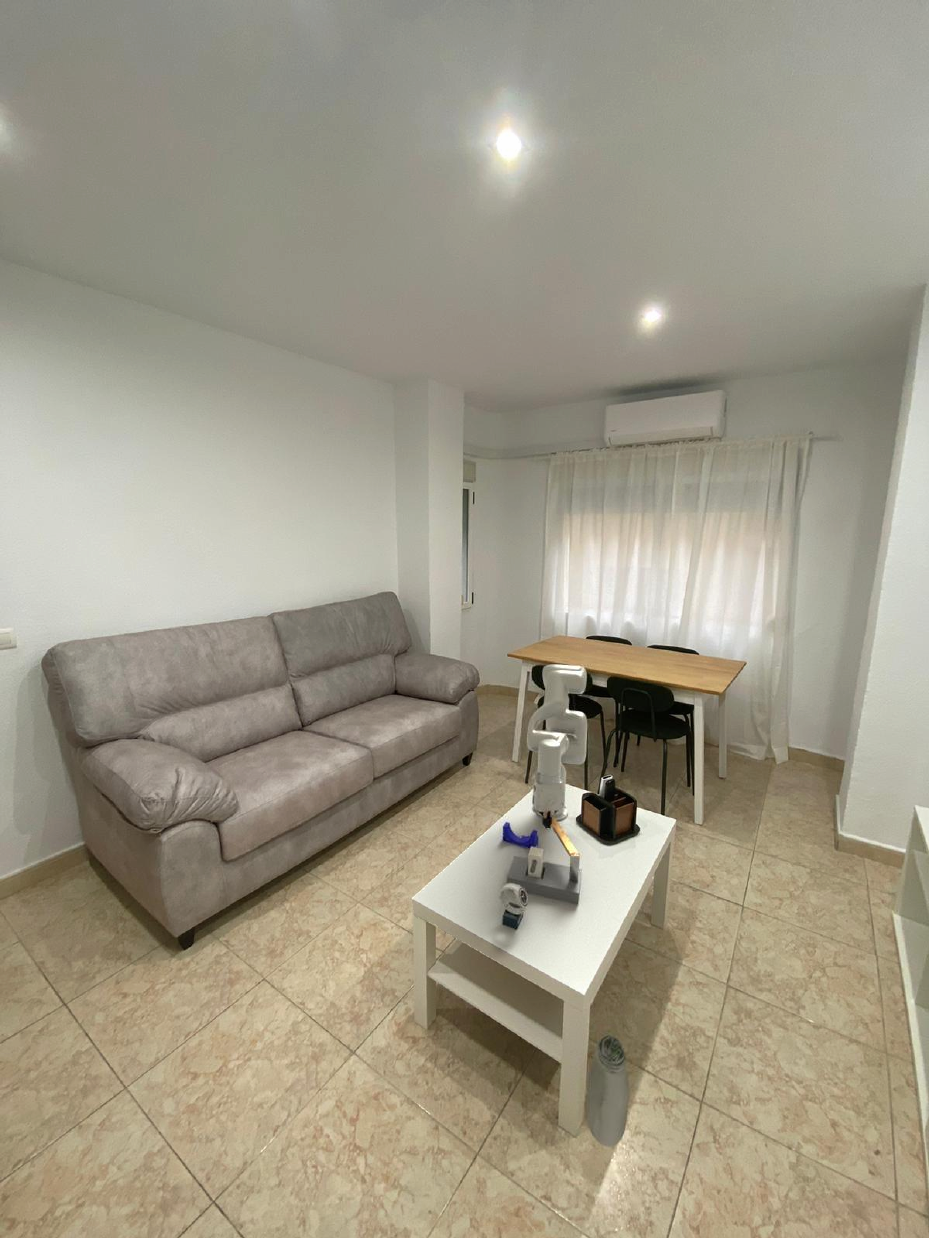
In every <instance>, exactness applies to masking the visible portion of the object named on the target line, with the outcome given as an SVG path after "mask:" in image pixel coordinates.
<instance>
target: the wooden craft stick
mask: <svg viewBox="0 0 929 1238" xmlns="http://www.w3.org/2000/svg"><path fill="white" fill-rule="evenodd" d="M551 829H552V831H553V832H554V834H555V835H556V837H557V838H558V840H559V842H560V843H561V845H562V847H563V848H564V850H565V851H566V853H567V854H568V856H569V867H570V873H569V879H570V881H572V882H577V881H578V879H579V869H580V861H581V859H580V857H581V856H580V853H579V852H578V851H577V849H576V848H575V847H574V845H573V843H572V842H571V840H570V839H569V837H568V835H566V833H565V831H564V830H563V828H562V826H561V825H560V823H559V822H558V820H556V819H552V824H551Z"/></svg>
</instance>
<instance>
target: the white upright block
mask: <svg viewBox="0 0 929 1238" xmlns="http://www.w3.org/2000/svg"><path fill="white" fill-rule="evenodd" d="M543 862H544V848H540V847H537V846H536V847H531V848H530V849H529V851H528V876H531V877H535V878H540V879H542V871H543Z"/></svg>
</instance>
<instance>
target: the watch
mask: <svg viewBox="0 0 929 1238" xmlns="http://www.w3.org/2000/svg"><path fill="white" fill-rule="evenodd" d="M510 889H511V891H513V894H514V896H515V900H516V902H517V903H513V902H511V901H510V902H509V900H508V898H507V896H506V893H505V890H510ZM499 899H500V902H501V904H502V906H503V908H504V909H505V910H504V912H503V914H502V925H503V926H506V927H508V928H511V929H514V930H516V931H517V930H518V929H519V926H520V924H521V922H522V919H523V917H524V911H525V909H526V907H527V906H528V904H529V895H528V893H527V892H526V890H525V889H524V888H523V887H521V886H520V885H517V884H514V883H508V884H507V883H506V884H504V886H503V887H502V889H501V891H500V892H499Z"/></svg>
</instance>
